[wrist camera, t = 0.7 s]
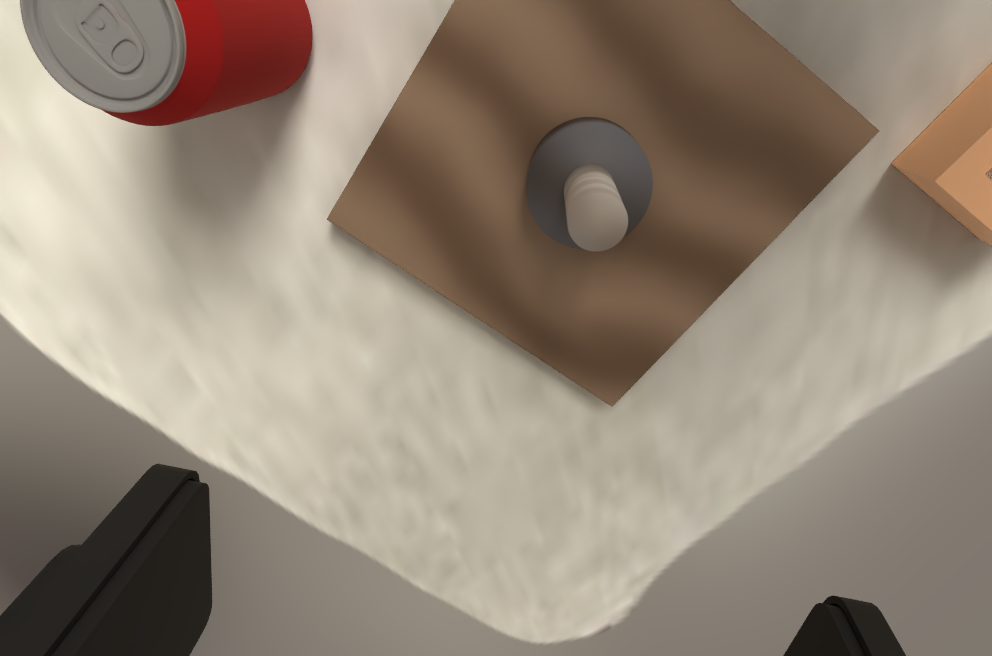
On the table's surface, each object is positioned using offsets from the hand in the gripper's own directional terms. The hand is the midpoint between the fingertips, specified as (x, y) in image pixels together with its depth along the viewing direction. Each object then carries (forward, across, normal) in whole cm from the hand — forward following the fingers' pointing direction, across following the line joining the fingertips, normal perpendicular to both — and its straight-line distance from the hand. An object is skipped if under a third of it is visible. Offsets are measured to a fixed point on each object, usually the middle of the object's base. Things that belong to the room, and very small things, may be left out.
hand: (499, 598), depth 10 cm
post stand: (+27, -3, -1) cm, 27 cm away
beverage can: (+27, +16, -5) cm, 32 cm away
